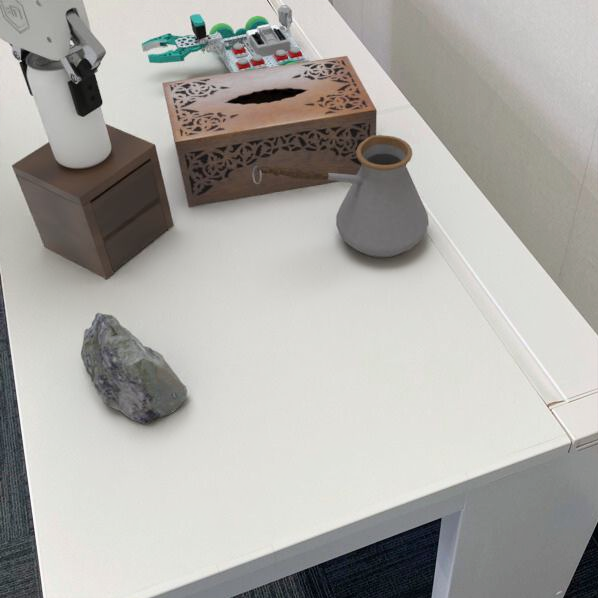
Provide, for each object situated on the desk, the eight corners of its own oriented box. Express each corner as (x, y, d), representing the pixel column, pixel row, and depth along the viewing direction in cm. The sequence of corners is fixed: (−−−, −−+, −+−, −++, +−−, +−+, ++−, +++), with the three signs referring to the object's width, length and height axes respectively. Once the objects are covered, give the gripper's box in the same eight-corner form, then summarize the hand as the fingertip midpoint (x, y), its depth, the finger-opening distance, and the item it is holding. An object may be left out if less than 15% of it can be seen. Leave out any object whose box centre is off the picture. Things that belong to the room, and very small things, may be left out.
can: (49, 147, 90) (15, 49, 81) (104, 132, 92) (76, 35, 83) (62, 177, 86) (28, 78, 77) (119, 161, 88) (92, 62, 79)
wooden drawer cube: (44, 246, 97) (11, 165, 88) (112, 196, 104) (88, 116, 94) (106, 279, 93) (79, 198, 84) (174, 225, 100) (155, 144, 90)
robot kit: (140, 62, 127) (128, 6, 120) (283, 33, 133) (279, -22, 126) (168, 120, 116) (156, 62, 109) (323, 85, 122) (321, 27, 115)
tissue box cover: (347, 118, 116) (347, 55, 108) (375, 174, 106) (376, 110, 99) (175, 146, 111) (162, 82, 104) (188, 207, 102) (175, 142, 94)
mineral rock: (86, 344, 86) (60, 278, 79) (183, 329, 88) (166, 263, 80) (84, 437, 78) (54, 374, 70) (191, 419, 79) (173, 355, 72)
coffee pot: (403, 200, 103) (408, 98, 91) (442, 253, 96) (454, 150, 84) (250, 241, 97) (236, 139, 86) (280, 301, 90) (269, 198, 79)
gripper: (-84, -83, 72) (-14, 93, 85) (45, -40, 65) (98, 142, 79) (-18, -107, 76) (38, 64, 89) (109, -70, 69) (149, 108, 83)
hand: (66, 99), depth 84 cm, fingers closed on can, 6 cm apart
